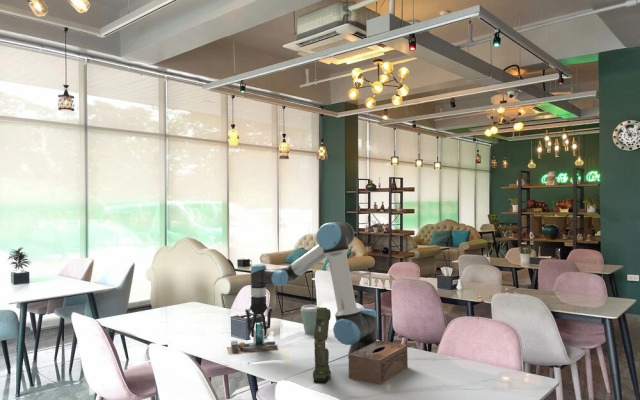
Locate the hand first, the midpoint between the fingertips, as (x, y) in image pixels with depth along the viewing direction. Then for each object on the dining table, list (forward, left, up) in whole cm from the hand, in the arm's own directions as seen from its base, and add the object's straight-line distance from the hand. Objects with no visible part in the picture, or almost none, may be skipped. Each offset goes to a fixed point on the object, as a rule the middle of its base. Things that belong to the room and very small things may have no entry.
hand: (258, 342), depth 242 cm
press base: (0, +3, -4) cm, 5 cm away
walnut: (0, +8, -3) cm, 9 cm away
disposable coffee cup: (+26, -33, -4) cm, 42 cm away
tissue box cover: (-47, -45, -4) cm, 65 cm away
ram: (0, +1, -1) cm, 2 cm away
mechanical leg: (-47, -20, -4) cm, 51 cm away
